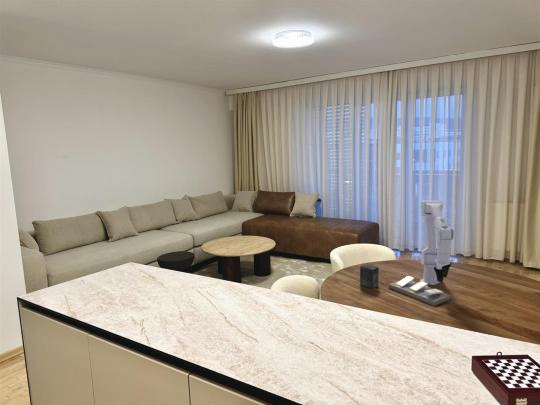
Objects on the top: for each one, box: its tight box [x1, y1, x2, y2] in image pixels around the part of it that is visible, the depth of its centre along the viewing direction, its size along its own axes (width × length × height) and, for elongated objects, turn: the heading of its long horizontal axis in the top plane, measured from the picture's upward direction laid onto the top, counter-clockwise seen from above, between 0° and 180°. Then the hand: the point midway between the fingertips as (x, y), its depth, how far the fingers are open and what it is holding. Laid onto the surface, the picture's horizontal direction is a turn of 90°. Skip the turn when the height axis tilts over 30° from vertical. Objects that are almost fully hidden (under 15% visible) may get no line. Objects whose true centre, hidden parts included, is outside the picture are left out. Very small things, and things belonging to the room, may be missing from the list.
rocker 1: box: [397, 275, 414, 287], centre depth 185 cm, size 9×4×1 cm, turn 121°
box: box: [359, 263, 379, 289], centre depth 189 cm, size 8×6×11 cm
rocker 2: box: [410, 281, 429, 292], centre depth 178 cm, size 9×4×1 cm, turn 121°
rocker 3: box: [424, 288, 444, 295], centre depth 171 cm, size 9×4×1 cm, turn 122°
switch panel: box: [388, 279, 452, 307], centre depth 178 cm, size 13×26×2 cm, turn 32°
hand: (442, 279), depth 174 cm, fingers open, 7 cm apart
